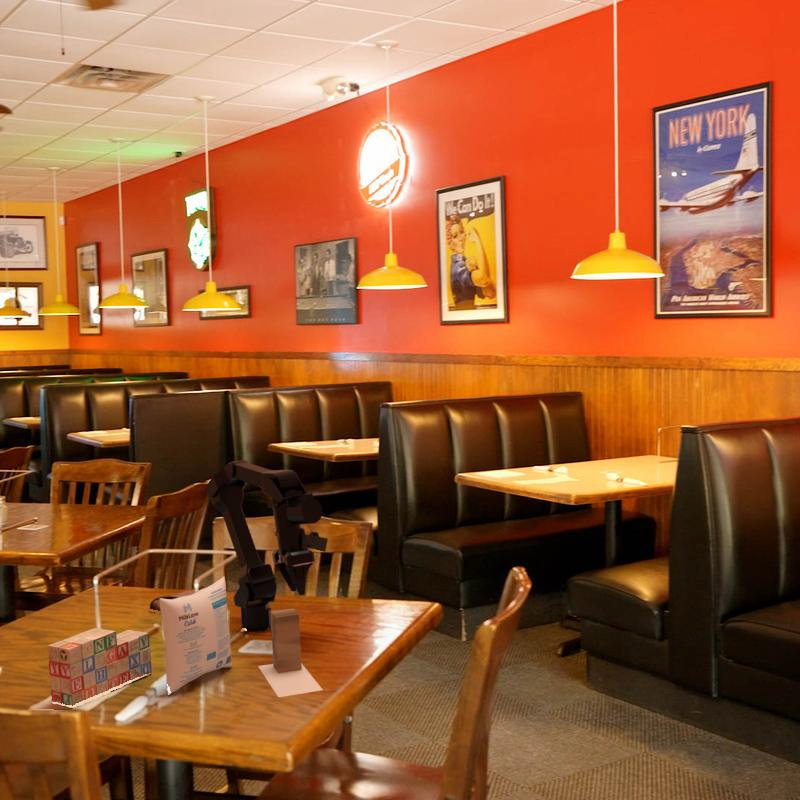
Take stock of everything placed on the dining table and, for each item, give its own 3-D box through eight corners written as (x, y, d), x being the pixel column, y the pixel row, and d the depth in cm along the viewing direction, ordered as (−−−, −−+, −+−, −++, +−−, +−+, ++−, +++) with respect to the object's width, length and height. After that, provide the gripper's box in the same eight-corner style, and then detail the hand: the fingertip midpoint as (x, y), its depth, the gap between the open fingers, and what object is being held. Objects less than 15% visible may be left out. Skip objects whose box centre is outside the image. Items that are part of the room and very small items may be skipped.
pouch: (246, 670, 214) (241, 578, 212) (177, 699, 198) (171, 600, 197) (219, 664, 218) (214, 574, 217) (151, 692, 203) (145, 595, 202)
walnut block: (273, 666, 215) (270, 611, 214) (296, 662, 216) (293, 608, 215) (278, 673, 210) (275, 617, 209) (301, 669, 211) (298, 614, 211)
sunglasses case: (169, 617, 257) (159, 593, 258) (155, 627, 261) (146, 603, 263) (223, 600, 270) (214, 578, 272) (210, 610, 274) (201, 588, 276)
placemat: (258, 667, 215) (258, 666, 215) (298, 661, 218) (298, 659, 218) (278, 699, 196) (278, 697, 196) (322, 691, 199) (322, 689, 199)
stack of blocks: (131, 671, 217) (128, 615, 216) (152, 675, 214) (149, 618, 213) (51, 705, 199) (47, 644, 198) (72, 710, 196) (68, 648, 195)
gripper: (331, 520, 224) (341, 590, 223) (313, 518, 242) (322, 583, 241) (282, 529, 220) (293, 599, 220) (267, 526, 238) (277, 591, 237)
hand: (297, 593), depth 229 cm, fingers open, 9 cm apart
